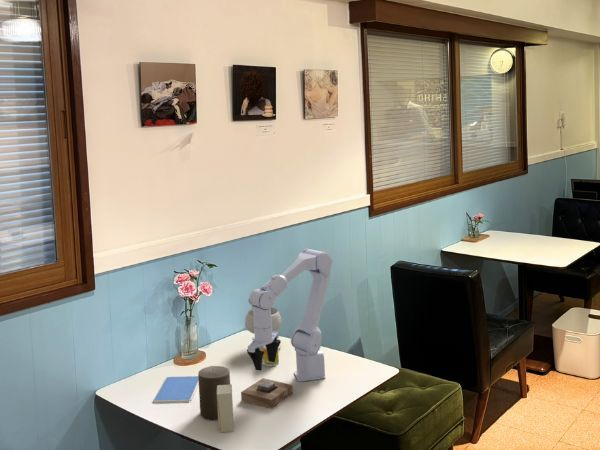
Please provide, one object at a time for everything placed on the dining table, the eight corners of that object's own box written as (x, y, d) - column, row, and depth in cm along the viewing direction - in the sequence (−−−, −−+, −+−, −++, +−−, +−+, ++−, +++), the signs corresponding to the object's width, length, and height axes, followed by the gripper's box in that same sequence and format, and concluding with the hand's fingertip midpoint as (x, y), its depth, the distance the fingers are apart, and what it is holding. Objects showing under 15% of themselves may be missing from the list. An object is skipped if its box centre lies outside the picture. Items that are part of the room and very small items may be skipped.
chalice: (290, 347, 255) (288, 310, 252) (264, 358, 245) (261, 320, 242) (265, 339, 264) (263, 303, 261) (239, 350, 254) (236, 312, 251)
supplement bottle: (276, 366, 237) (275, 341, 235) (262, 366, 238) (261, 340, 236) (280, 360, 242) (279, 335, 240) (266, 360, 243) (264, 335, 241)
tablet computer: (166, 379, 231) (166, 376, 231) (202, 378, 231) (201, 375, 231) (152, 404, 212) (152, 401, 212) (191, 403, 212) (190, 400, 212)
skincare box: (219, 422, 197) (216, 384, 195) (234, 421, 198) (231, 383, 195) (218, 433, 191) (215, 394, 189) (234, 431, 191) (231, 392, 189)
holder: (263, 386, 221) (262, 378, 220) (293, 393, 214) (292, 385, 214) (241, 400, 211) (241, 392, 210) (272, 408, 205) (271, 399, 204)
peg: (265, 393, 216) (264, 380, 215) (275, 396, 214) (274, 382, 213) (258, 398, 212) (257, 385, 212) (268, 401, 210) (267, 387, 209)
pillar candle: (205, 423, 197) (202, 376, 194) (196, 410, 206) (194, 364, 203) (236, 416, 201) (234, 370, 198) (226, 403, 210) (224, 359, 207)
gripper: (265, 317, 220) (267, 355, 223) (239, 331, 208) (242, 371, 211) (283, 320, 216) (285, 359, 219) (257, 334, 204) (260, 375, 207)
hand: (265, 365), depth 214 cm, fingers open, 7 cm apart
